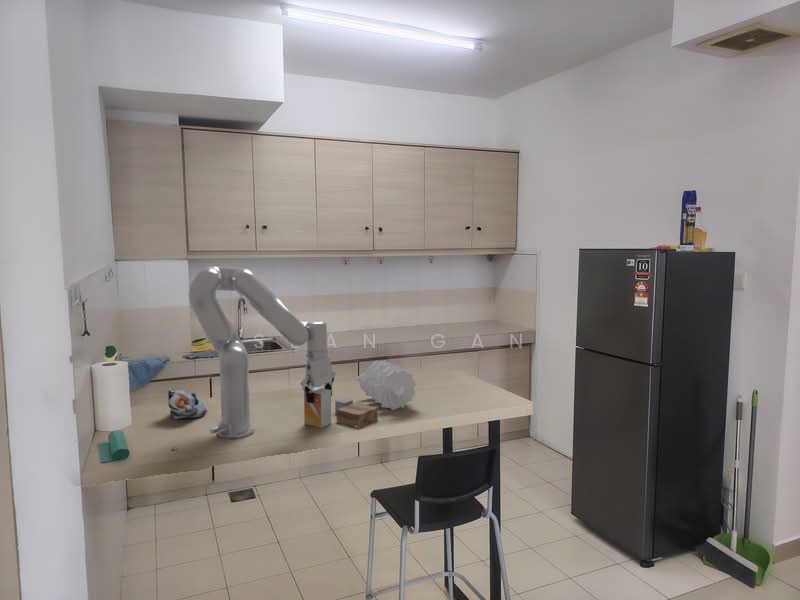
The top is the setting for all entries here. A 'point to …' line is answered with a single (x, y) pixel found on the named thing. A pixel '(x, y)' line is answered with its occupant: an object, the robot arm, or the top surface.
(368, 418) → the walnut block
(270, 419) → the top surface
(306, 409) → the small box
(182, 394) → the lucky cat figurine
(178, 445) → the top surface
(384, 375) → the spiral staircase
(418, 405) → the top surface
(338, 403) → the slate-grey cube
